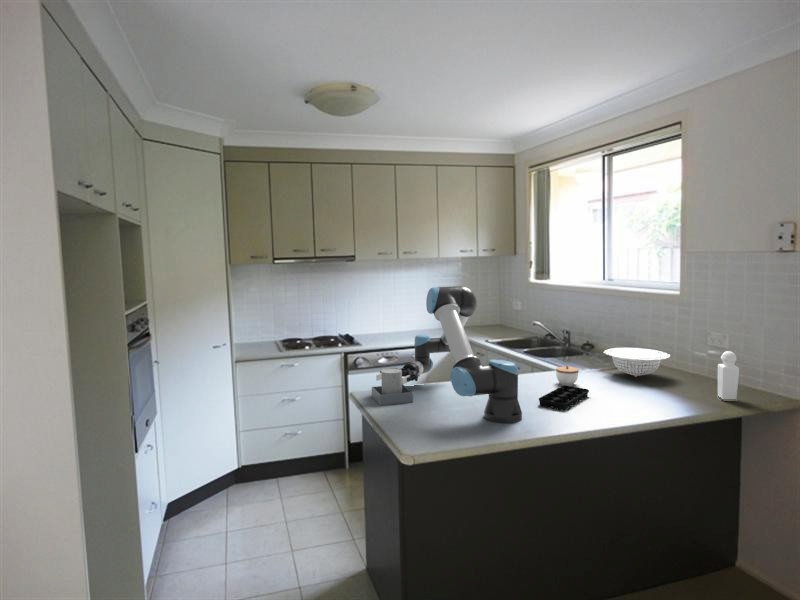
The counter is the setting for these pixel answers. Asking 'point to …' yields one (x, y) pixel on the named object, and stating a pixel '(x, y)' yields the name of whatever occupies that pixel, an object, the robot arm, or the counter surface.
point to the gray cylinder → (391, 381)
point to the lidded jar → (567, 375)
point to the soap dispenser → (728, 376)
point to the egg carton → (563, 397)
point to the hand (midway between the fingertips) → (389, 379)
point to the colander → (636, 359)
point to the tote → (392, 396)
